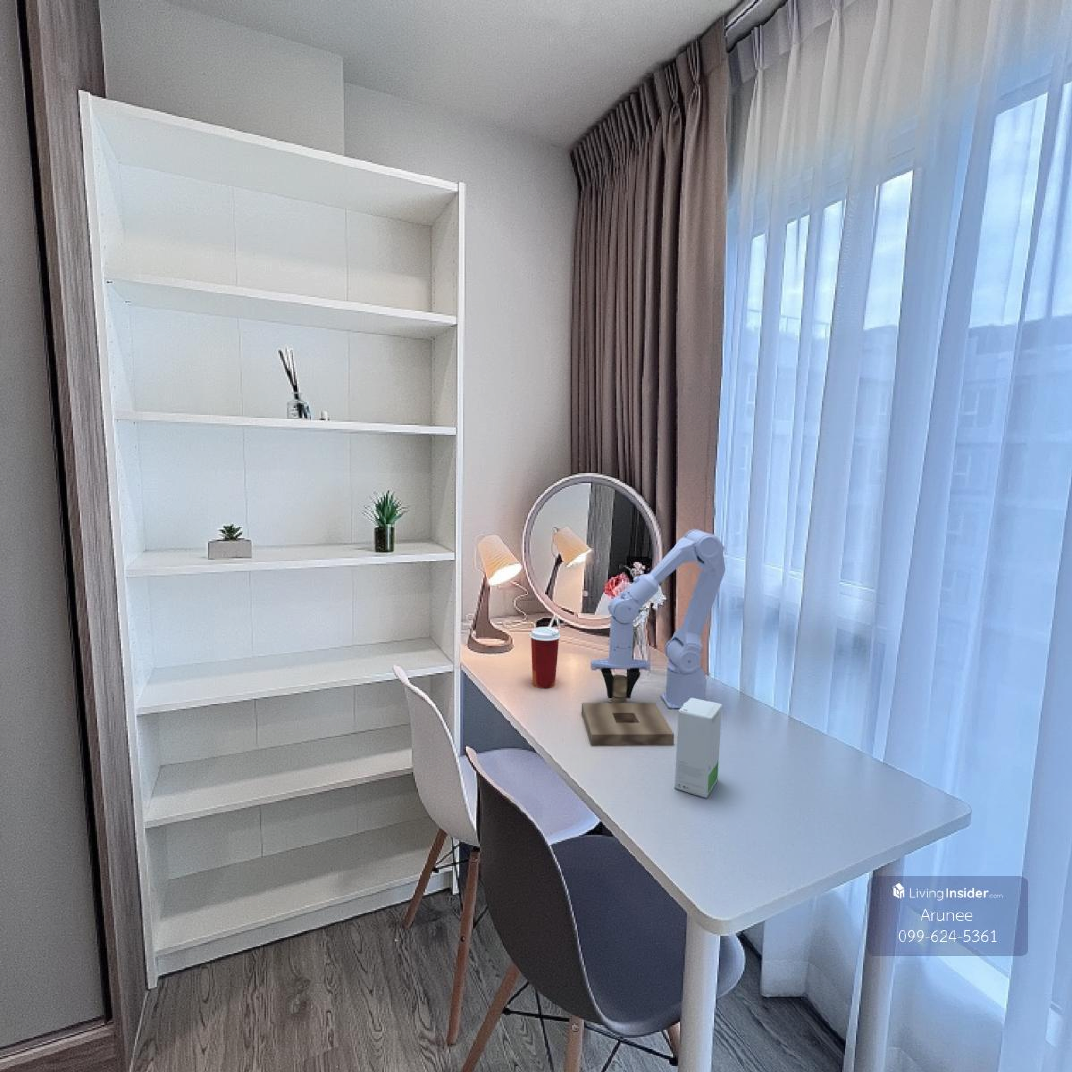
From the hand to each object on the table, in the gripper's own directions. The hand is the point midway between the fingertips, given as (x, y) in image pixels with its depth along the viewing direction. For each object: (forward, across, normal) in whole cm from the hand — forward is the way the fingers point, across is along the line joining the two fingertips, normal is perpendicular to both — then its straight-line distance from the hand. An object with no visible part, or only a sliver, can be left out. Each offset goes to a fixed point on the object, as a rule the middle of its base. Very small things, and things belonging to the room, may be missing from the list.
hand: (618, 696), depth 149 cm
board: (+2, +1, +13) cm, 13 cm away
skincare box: (+2, -8, +36) cm, 37 cm away
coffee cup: (+2, +18, -13) cm, 22 cm away
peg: (+2, 0, 0) cm, 2 cm away
